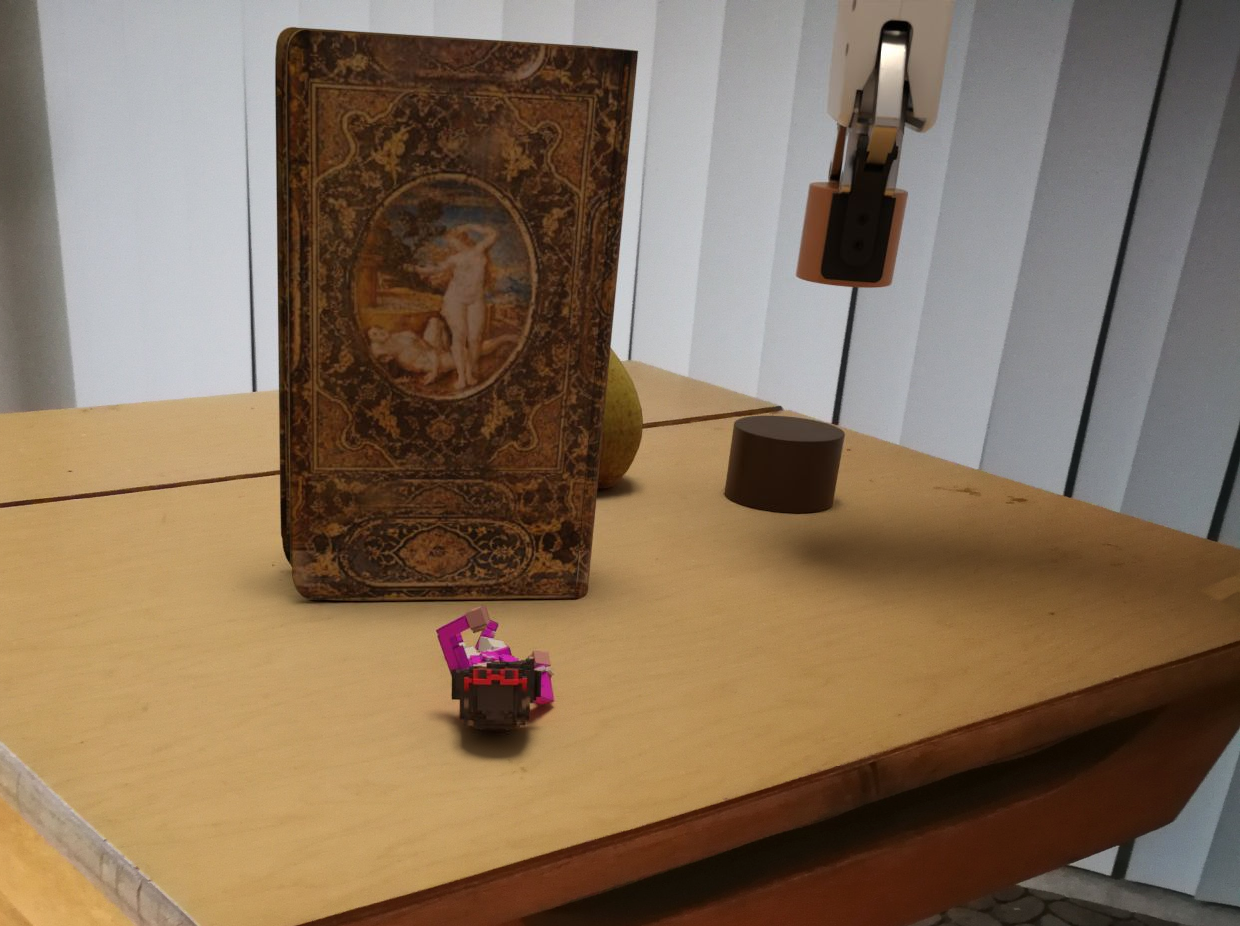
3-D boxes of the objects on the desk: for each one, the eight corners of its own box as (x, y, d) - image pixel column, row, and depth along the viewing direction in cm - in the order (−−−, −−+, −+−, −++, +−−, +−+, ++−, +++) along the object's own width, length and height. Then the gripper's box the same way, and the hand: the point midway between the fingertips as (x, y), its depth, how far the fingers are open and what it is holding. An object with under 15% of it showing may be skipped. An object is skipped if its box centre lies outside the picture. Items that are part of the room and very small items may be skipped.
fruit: (661, 486, 103) (683, 292, 96) (573, 507, 97) (590, 302, 90) (565, 459, 107) (579, 272, 101) (475, 478, 102) (485, 281, 95)
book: (572, 567, 86) (617, 47, 73) (598, 598, 82) (651, 51, 68) (281, 569, 83) (271, 25, 69) (291, 602, 78) (283, 27, 65)
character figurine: (415, 675, 73) (442, 748, 63) (420, 567, 71) (449, 623, 60) (531, 680, 74) (578, 752, 64) (540, 573, 72) (590, 629, 61)
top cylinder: (886, 277, 85) (902, 186, 83) (896, 290, 81) (914, 195, 78) (792, 269, 86) (806, 179, 83) (798, 282, 81) (812, 187, 79)
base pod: (829, 489, 105) (841, 420, 102) (835, 517, 99) (848, 445, 96) (724, 479, 105) (733, 411, 103) (724, 506, 99) (734, 435, 97)
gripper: (1026, -156, 66) (936, 301, 76) (966, -123, 80) (896, 258, 90) (851, -166, 66) (784, 289, 76) (822, -132, 81) (769, 248, 90)
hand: (845, 268), depth 83 cm, fingers closed on top cylinder, 5 cm apart
